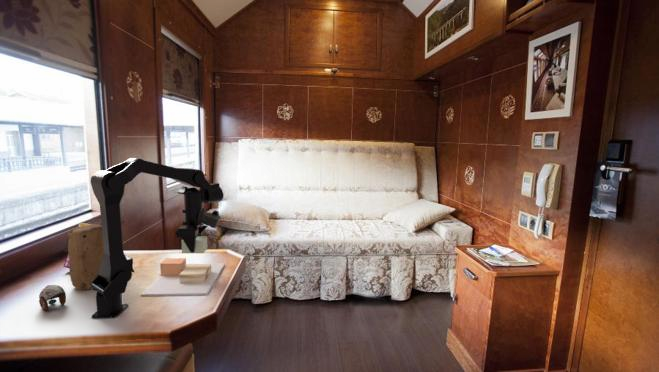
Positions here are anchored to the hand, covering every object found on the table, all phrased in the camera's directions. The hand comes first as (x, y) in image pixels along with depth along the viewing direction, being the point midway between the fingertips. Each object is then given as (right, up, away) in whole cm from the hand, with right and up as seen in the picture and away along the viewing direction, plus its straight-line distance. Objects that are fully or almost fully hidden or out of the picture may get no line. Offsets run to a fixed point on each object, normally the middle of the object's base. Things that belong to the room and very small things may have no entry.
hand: (194, 249), depth 111 cm
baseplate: (-3, -11, +1) cm, 11 cm away
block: (-32, -11, -4) cm, 34 cm away
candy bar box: (-43, -8, +4) cm, 44 cm away
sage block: (0, 0, 0) cm, 0 cm away
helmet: (-32, -13, -19) cm, 40 cm away
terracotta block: (-10, -9, +5) cm, 14 cm away
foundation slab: (0, -10, +2) cm, 10 cm away
